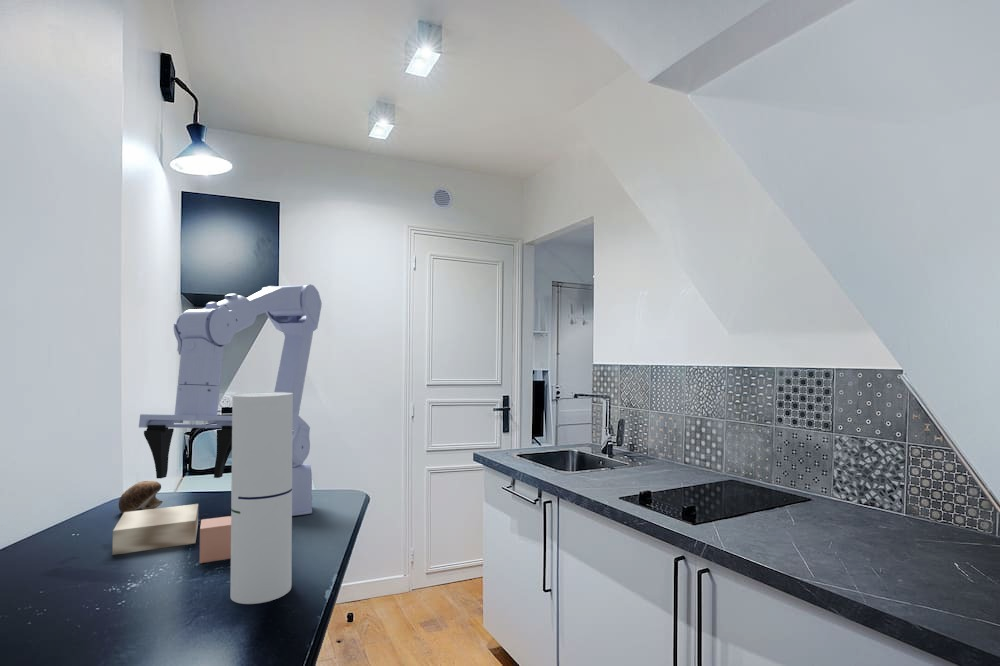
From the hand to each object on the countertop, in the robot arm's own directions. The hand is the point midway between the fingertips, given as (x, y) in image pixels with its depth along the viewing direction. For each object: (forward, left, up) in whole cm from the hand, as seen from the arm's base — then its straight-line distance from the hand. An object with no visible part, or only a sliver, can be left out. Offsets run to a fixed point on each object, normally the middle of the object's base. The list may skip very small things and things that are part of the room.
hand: (190, 477), depth 82 cm
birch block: (+5, -13, -12) cm, 18 cm away
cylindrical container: (-9, +17, -12) cm, 23 cm away
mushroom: (+10, -33, -12) cm, 36 cm away
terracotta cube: (-4, 0, -12) cm, 13 cm away
